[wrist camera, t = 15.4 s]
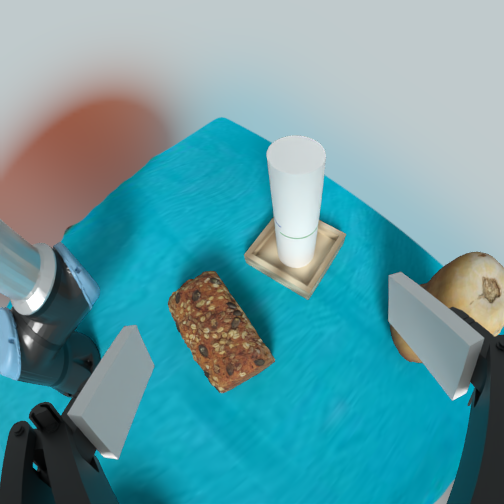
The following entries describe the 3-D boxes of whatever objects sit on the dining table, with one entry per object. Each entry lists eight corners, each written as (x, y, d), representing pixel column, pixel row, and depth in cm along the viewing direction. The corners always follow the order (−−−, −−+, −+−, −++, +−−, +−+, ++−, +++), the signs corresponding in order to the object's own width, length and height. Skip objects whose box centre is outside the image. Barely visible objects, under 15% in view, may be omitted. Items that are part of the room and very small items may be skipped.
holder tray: (246, 263, 55) (243, 254, 52) (285, 213, 59) (284, 203, 56) (308, 300, 50) (309, 293, 47) (343, 243, 54) (346, 234, 51)
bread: (277, 363, 45) (274, 357, 37) (225, 395, 44) (210, 395, 35) (223, 282, 54) (210, 259, 45) (177, 310, 52) (155, 293, 43)
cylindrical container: (300, 229, 56) (301, 129, 34) (321, 255, 53) (337, 159, 31) (270, 246, 55) (255, 149, 33) (290, 274, 52) (289, 183, 30)
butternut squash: (375, 362, 43) (446, 333, 21) (385, 293, 48) (443, 218, 26) (439, 369, 39) (529, 341, 17) (444, 303, 45) (519, 241, 23)
